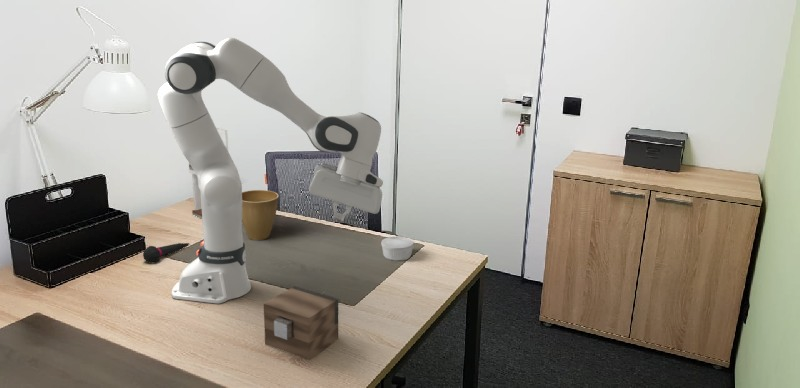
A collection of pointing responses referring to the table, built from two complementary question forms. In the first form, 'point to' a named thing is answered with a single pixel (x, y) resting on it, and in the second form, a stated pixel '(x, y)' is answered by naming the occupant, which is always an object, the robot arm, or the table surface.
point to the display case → (196, 183)
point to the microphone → (161, 251)
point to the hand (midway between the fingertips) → (337, 219)
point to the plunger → (283, 328)
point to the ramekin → (397, 248)
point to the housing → (302, 321)
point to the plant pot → (258, 212)
